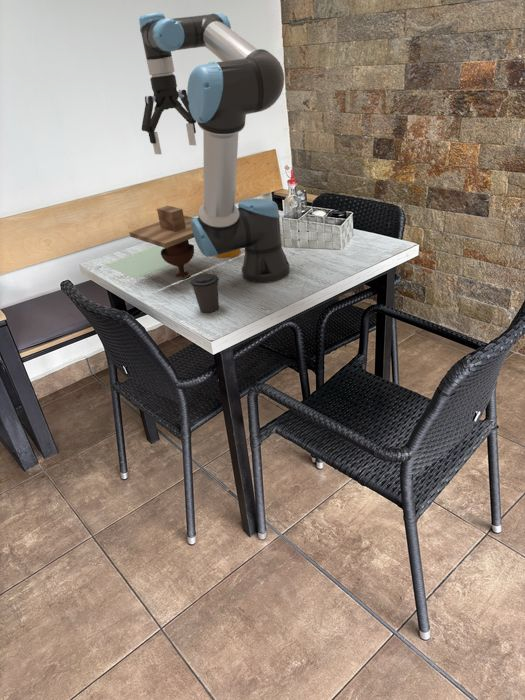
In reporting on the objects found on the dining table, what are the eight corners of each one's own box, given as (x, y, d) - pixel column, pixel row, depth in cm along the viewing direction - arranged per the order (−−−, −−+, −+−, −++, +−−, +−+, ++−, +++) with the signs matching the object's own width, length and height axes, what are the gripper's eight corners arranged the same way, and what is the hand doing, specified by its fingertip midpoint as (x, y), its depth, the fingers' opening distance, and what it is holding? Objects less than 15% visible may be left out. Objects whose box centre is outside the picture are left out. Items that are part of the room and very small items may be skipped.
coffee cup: (204, 318, 145) (198, 285, 140) (190, 309, 151) (183, 277, 146) (229, 308, 149) (224, 276, 144) (214, 300, 155) (208, 268, 150)
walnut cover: (218, 228, 165) (214, 204, 161) (165, 248, 154) (160, 223, 150) (181, 219, 178) (177, 196, 174) (130, 236, 167) (124, 213, 163)
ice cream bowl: (194, 283, 168) (185, 237, 160) (161, 283, 170) (151, 239, 163) (203, 270, 177) (195, 226, 169) (172, 270, 179) (163, 227, 172)
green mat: (189, 259, 187) (189, 257, 186) (136, 280, 175) (136, 278, 174) (155, 248, 202) (155, 246, 201) (104, 267, 189) (104, 265, 189)
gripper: (188, 70, 167) (199, 141, 178) (119, 81, 153) (136, 157, 164) (202, 69, 162) (213, 142, 173) (133, 80, 148) (149, 158, 159)
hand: (175, 149), depth 169 cm, fingers open, 13 cm apart
